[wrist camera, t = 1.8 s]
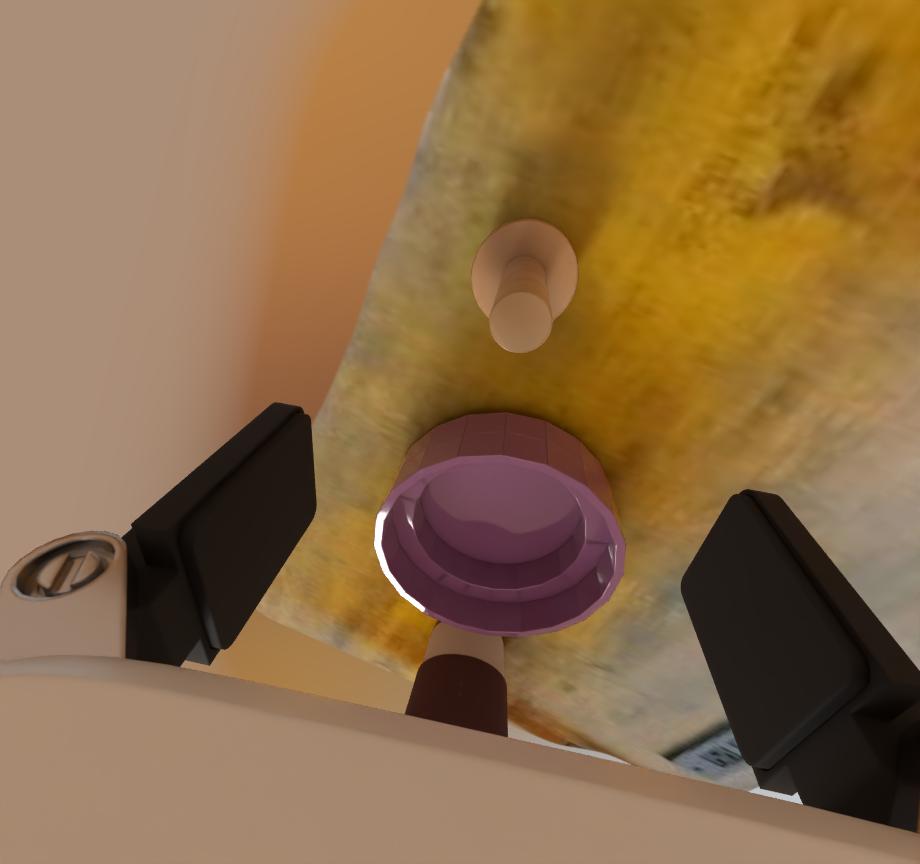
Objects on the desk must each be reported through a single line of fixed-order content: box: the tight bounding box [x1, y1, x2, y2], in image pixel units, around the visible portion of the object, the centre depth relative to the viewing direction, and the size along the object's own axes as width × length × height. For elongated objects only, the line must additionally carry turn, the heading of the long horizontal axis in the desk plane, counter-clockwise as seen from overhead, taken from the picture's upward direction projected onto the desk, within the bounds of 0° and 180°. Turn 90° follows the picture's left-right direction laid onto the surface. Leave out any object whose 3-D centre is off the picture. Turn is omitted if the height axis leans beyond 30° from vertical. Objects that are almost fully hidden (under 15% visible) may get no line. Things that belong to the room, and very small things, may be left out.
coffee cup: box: [405, 622, 508, 737], centre depth 36 cm, size 10×10×15 cm
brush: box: [471, 218, 578, 353], centre depth 19 cm, size 5×5×11 cm
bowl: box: [374, 412, 626, 637], centre depth 30 cm, size 16×16×6 cm
